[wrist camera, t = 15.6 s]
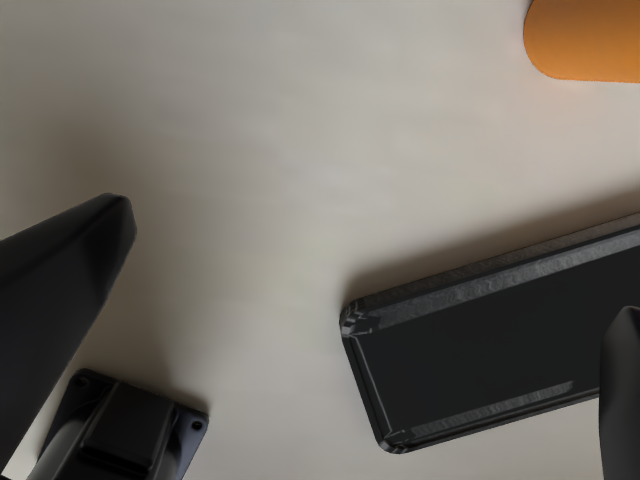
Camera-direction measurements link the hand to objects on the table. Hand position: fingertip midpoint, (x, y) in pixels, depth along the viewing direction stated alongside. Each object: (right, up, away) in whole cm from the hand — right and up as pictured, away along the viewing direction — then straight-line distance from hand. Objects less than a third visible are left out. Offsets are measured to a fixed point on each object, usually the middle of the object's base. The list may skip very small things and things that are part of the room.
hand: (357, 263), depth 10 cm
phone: (+8, -4, +15) cm, 17 cm away
